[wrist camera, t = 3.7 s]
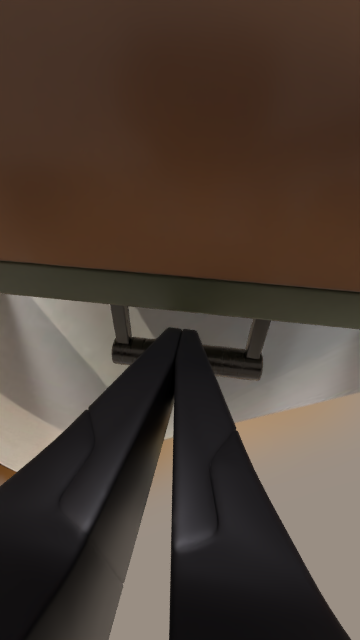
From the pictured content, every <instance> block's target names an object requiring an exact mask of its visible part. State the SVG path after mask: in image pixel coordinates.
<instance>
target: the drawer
mask: <svg viewBox="0 0 360 640" xmlns="http://www.w3.org/2000/svg"><path fill="white" fill-rule="evenodd" d="M0 293H3V294H13V295H23V296H33V297H43V298H52V299H62V300H72V301H82V302H92V303H102V304H110V306H111V311H112V317H113V323H114V329H115V335H116V338H115V340H114V343H113V347H112V360H113V362H114V363H115V364H123V365H131V364H132V363H133V362H134V361H135V360H136V359H137V358H138V357H139V356H140V355H141V354H142V353H143V352H144V351H145V350H146V349H147V348H148V347H149V346H150V345H151V344H152V343H153V342H154V341H155V340H156V339H148V338H139V337H132V334H131V326H130V318H129V309H128V306H132V307H142V308H152V309H162V310H172V311H182V312H192V313H202V314H212V315H222V316H232V317H242V318H252V319H253V320H252V324H251V328H250V332H249V336H248V340H247V344H246V348H245V349H238V348H229V347H220V346H211V345H203V348H204V350H205V352H206V355H207V357H208V360H209V362H210V365H211V367H212V370H213V372H214V375H215V376H222V377H230V378H239V379H247V380H255V381H258V380H260V378H261V375H262V370H263V356H262V353H261V351H262V348H263V345H264V342H265V338H266V335H267V332H268V329H269V325H270V322H271V320H272V321H282V322H292V323H302V324H312V325H322V326H332V327H342V328H352V329H360V292H352V291H341V290H329V289H318V288H307V287H295V286H284V285H273V284H261V283H250V282H239V281H227V280H216V279H205V278H193V277H182V276H171V275H159V274H148V273H137V272H125V271H114V270H103V269H91V268H80V267H69V266H57V265H46V264H35V263H23V262H12V261H1V260H0Z"/></svg>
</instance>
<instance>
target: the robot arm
mask: <svg viewBox="0 0 360 640" xmlns="http://www.w3.org/2000/svg"><path fill="white" fill-rule="evenodd" d="M173 403H174V434H173V483H172V484H173V485H172V533H171V582H170V585H171V586H170V630H169V640H351V639H350V637H349V636H348V634H347V633H346V632H345V630H344V629H343V627H342V626H341V624H340V623H339V621H338V620H337V618H336V617H335V615H334V614H333V612H332V610H331V609H330V608H329V606H328V604H327V602H326V601H325V599H324V597H323V596H322V594H321V592H320V591H319V589H318V587H317V585H316V584H315V582H314V580H313V578H312V577H311V575H310V573H309V571H308V569H307V567H306V566H305V564H304V562H303V560H302V558H301V556H300V555H299V553H298V551H297V549H296V547H295V545H294V544H293V542H292V540H291V538H290V536H289V534H288V533H287V531H286V529H285V527H284V525H283V524H282V521H281V520H280V518H279V516H278V514H277V513H276V511H275V509H274V507H273V505H272V503H271V501H270V499H269V497H268V496H267V494H266V492H265V490H264V488H263V486H262V484H261V482H260V480H259V478H258V476H257V474H256V472H255V470H254V468H253V466H252V463H251V461H250V459H249V457H248V454H247V452H246V450H245V448H244V445H243V443H242V440H241V438H240V435H239V433H238V431H236V427H235V424H234V421H233V419H232V416H231V414H230V411H229V409H228V406H227V404H226V401H225V399H224V397H223V394H222V392H221V389H220V387H219V384H218V382H217V379H216V377H215V375H214V372H213V370H212V367H211V365H210V362H209V360H208V357H207V355H206V352H205V350H204V348H203V345H202V343H201V340H200V338H199V335H198V333H197V331H196V330H190V329H183V330H181V329H180V328H171V327H169V328H167V329H166V330H165V331H164V332H163V333H162V334H161V335H160V336H159V337H158V338H157V339H156V340H155V341H154V342H153V343H152V344H151V345H150V346H149V347H148V348H147V349H146V350H145V351H144V352H143V353H142V354H141V355H140V356H139V357H138V358H137V359H136V360H135V361H134V362H133V363H132V364H131V365H130V366H129V367H128V368H127V369H126V370H125V371H124V372H123V373H122V374H121V375H120V376H119V377H118V378H117V379H116V380H115V381H114V382H113V383H112V384H111V385H110V386H109V387H108V388H107V389H106V390H105V391H104V392H103V393H102V394H101V395H100V396H99V397H98V398H97V399H96V400H95V401H94V402H93V403H92V404H91V405H90V406H89V408H88V410H85V411H84V412H83V413H82V414H81V415H80V416H79V417H78V418H77V419H76V420H75V421H74V422H73V423H72V424H71V425H70V426H69V427H68V428H67V429H66V430H65V431H64V432H63V433H62V434H61V435H59V436H58V437H57V438H56V439H55V440H54V441H53V442H52V443H51V444H50V445H48V446H47V447H46V448H45V449H44V450H43V451H41V452H40V453H39V454H38V455H37V456H36V457H35V458H33V459H32V460H31V461H30V462H29V463H27V464H26V465H25V466H24V467H23V468H22V469H20V470H19V471H18V472H17V473H16V474H14V475H13V476H12V477H11V478H10V479H8V480H7V481H6V482H5V483H4V484H3V485H1V486H0V640H108V639H109V635H110V632H111V628H112V625H113V621H114V617H115V614H116V610H117V607H118V603H119V599H120V595H121V592H122V588H123V583H124V581H125V577H126V574H127V570H128V567H129V563H130V559H131V555H132V552H133V548H134V545H135V541H136V538H137V534H138V530H139V527H140V523H141V519H142V516H143V512H144V509H145V505H146V502H147V498H148V494H149V491H150V487H151V483H152V479H153V476H154V473H155V469H156V466H157V462H158V458H159V455H160V451H161V447H162V444H163V440H164V437H165V433H166V429H167V426H168V422H169V419H170V415H171V411H172V407H173Z"/></svg>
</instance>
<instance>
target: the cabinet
mask: <svg viewBox="0 0 360 640" xmlns="http://www.w3.org/2000/svg"><path fill="white" fill-rule="evenodd" d="M0 260H1V261H12V262H23V263H35V264H46V265H57V266H69V267H80V268H91V269H103V270H114V271H125V272H137V273H148V274H159V275H171V276H182V277H193V278H205V279H216V280H227V281H239V282H250V283H261V284H273V285H284V286H295V287H307V288H318V289H329V290H341V291H352V292H360V0H0Z"/></svg>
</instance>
